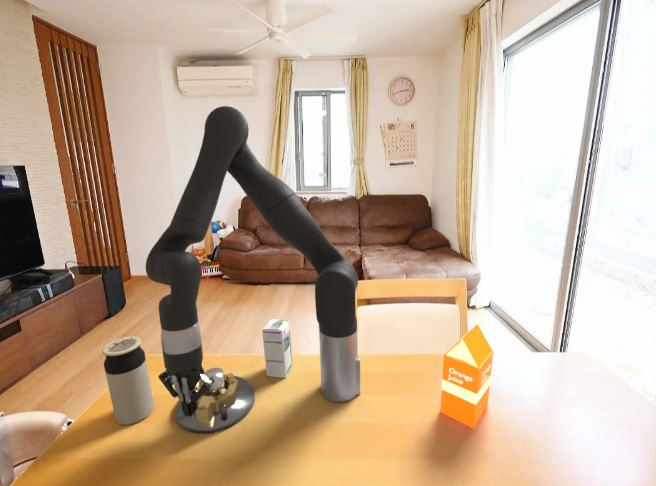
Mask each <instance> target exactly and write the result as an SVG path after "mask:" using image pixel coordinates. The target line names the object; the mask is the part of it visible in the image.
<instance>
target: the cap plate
mask: <svg viewBox="0 0 656 486" xmlns="http://www.w3.org/2000/svg"><path fill="white" fill-rule="evenodd" d="M224 374H225V373H224V370H223V369H222V368H221V367H212V368H209V369H207V370H205V371H204V375H205V376H206V377H207V378H208V379H210V378H213V379H214V383H213V384H212V385H211V386H210V388H209V389H208V390H207V391H206V392H205V395H204V396H213V397H217V396H219V391H220V390H222V389H224V388H225V382H224ZM234 378H235V379H236V380H237V381H238V387H239V393H238V396H237V399H236V402H235V404H233V405H232V406H230V407H228V408H227V407H226V403H222V404H220V413H215V415H214V417H213V420H212V423H211V425H210V427H201V428H198V421H197V414H196V411H195V412H194V413H193V414H192V416H191V417H189V416H185V415H184V413H183V411H182V406H181V401H180V400H179V399H178V401H177V403H176V407H175V417H176V421H177V423H178V425H179V426H180V428H181V429H183V430H184V431H186V432H189V433H192V434H196V435H198V434H199V435H207V434H209V435H210V434H214V433H218V432H222V431H224V430H226V429H229V428H232V427H234V426H235V425H237V424H238V423H240V422H241V421H242V420H244V419H245V418H246V417H247V416H248V415H249V413H250V412H251V410H252V408H253V407H254V404H255V402H256V396H255V389H254V386H253V385H252V383H251V382H250V381H249V380H248V379H245V378H244V377H241V376H236V375H234Z"/></svg>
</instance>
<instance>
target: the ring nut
mask: <svg viewBox="0 0 656 486" xmlns="http://www.w3.org/2000/svg"><path fill="white" fill-rule="evenodd" d="M223 374H224V382H225V388H224V389H222V390H220V391H219V396H217V397H213V396H204V395H205V394H204V395H203V396H202V397H201V398H200V399H199V400H198V401H197V402H196V403H197V409H196V414H197V421H198V428H201V427H210V425H211V423H212V420H213V417H214V415H215V413H220V404H222V403H226V407H227V408H228V407H230V406H232V405H233V404H235V402H236V399H237V396H238V393H239V387H238V381H237V380H236V379H235V378H234V376H235V374H234V373H232V372H229V373H223ZM199 386H200V381H199V385H198V387H197V392H198V391H199V389H200V388H199Z"/></svg>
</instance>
